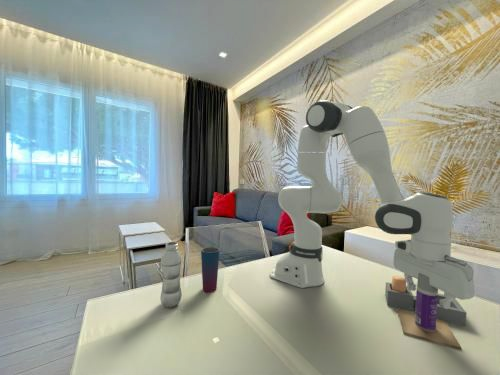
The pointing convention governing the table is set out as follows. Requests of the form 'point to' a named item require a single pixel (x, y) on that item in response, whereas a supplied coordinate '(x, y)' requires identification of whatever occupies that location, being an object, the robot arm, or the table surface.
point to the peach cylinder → (399, 284)
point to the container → (426, 304)
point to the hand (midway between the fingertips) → (426, 297)
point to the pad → (438, 336)
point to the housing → (409, 302)
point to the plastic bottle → (171, 275)
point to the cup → (210, 268)
